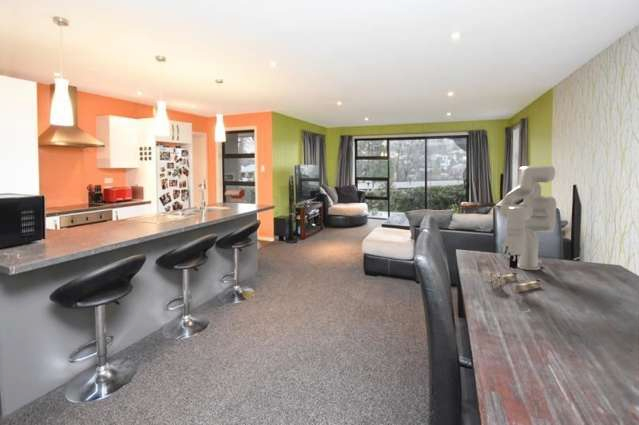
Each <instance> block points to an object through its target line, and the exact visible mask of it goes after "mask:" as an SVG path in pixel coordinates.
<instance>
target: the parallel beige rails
mask: <svg viewBox="0 0 639 425" xmlns="http://www.w3.org/2000/svg"><path fill="white" fill-rule="evenodd" d="M517 275H518V273H517V272H514V271H513V272H512V273H509V274H507V275H506V274H504V275H501V276H502V277H503V278H504V279H505V281H506V283H510V282H513V281H517V277H518V276H517ZM507 281H508V282H507ZM541 281H542V279H539V278H535V280H533V281H530V282H529V281H528V282H524V283H520V284H515V287H514V288H515V292H517V293H520V292H525V291H528V290H529V291H531V290H534V289H538V288H541Z"/></svg>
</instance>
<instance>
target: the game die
mask: <svg viewBox="0 0 639 425" xmlns="http://www.w3.org/2000/svg"><path fill="white" fill-rule="evenodd" d="M502 276H503V275H502V273H500V274H492V273H490V276H489V278H488V280H487V281H485V283H487V284H488V285H489V286H490V288H491V291H492V292H493V291H494V290H495V291H498V290H501V291H502V292H504V287H505V285H506V284H507V283H509V282H508V281H507V282H506V281H505V279H504V278H503V277H502Z"/></svg>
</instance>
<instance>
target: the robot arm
mask: <svg viewBox="0 0 639 425" xmlns="http://www.w3.org/2000/svg"><path fill="white" fill-rule="evenodd" d="M555 176H556V169H555V166H553V165H525V166H521V167H519V169H518V176H517V177H518V178H517V182H516V186H515V188H513V189H512V190H511V191H509V192H508V193H506V195H505V196H504V197H503V198H502V201H501V205H500V208H499V209H500V210H499V214H500V216H501V218H503V219H506V231H505V232H506V234H505V236H504V238H503V244H502V245H503V247H502V254H503V255H505V258H507V259H508V260H509V265H508V266H509V268H511V269H515V270H516V269H522V270H528V271H537V270H538V271H539V270H541V266H540V265H539V264H541V263H542V260H541V259H538V258H539V246H540V245H539V243H540V241H539V240H540V239H539V238H540V237H539V236H538V235H537V233H536V232H541V233H552V232H554V231H555V228H556V218H557V217H556V216H557V200H556V198H555V197H553V196H550V195H549V196H548V195H547V196H546V195H542V185H541V184H540V183H543V184H545V183H550V182H552V181H553V180H555ZM521 199H523V201H522V202H523V204H519V203H517V204H516V203H513V202H515V201H518V200H521ZM534 213H541V214H534ZM542 214H543V215H542Z"/></svg>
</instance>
